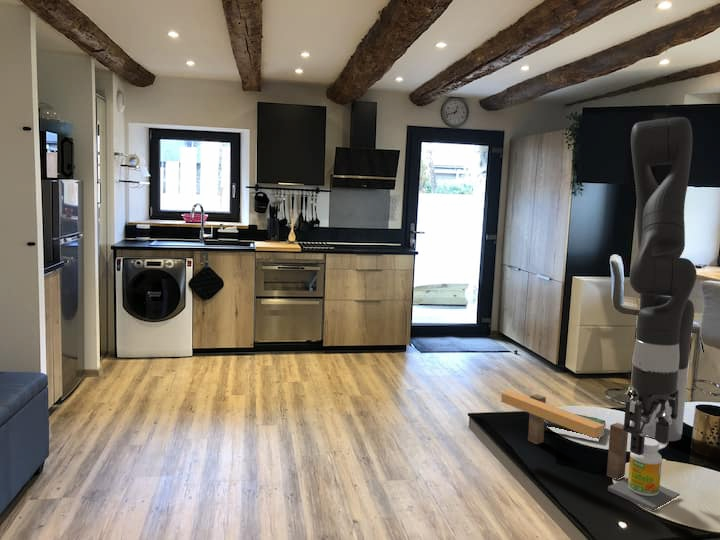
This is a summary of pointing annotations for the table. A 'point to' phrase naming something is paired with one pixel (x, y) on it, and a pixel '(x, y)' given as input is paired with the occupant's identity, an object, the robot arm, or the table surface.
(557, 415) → the bar
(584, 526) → the table surface
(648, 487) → the supplement bottle
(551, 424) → the disk drive
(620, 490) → the book
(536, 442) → the stand
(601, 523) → the table surface
